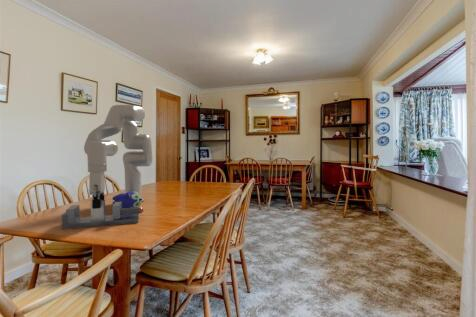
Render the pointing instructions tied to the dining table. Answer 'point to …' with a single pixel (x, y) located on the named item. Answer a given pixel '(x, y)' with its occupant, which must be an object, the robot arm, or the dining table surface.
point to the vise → (75, 221)
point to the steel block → (98, 212)
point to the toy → (128, 199)
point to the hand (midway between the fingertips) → (98, 205)
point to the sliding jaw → (124, 210)
